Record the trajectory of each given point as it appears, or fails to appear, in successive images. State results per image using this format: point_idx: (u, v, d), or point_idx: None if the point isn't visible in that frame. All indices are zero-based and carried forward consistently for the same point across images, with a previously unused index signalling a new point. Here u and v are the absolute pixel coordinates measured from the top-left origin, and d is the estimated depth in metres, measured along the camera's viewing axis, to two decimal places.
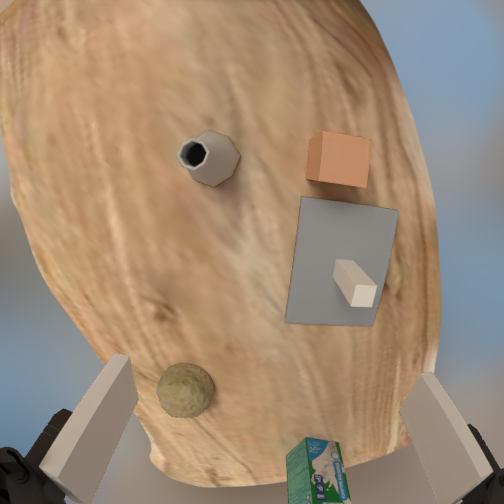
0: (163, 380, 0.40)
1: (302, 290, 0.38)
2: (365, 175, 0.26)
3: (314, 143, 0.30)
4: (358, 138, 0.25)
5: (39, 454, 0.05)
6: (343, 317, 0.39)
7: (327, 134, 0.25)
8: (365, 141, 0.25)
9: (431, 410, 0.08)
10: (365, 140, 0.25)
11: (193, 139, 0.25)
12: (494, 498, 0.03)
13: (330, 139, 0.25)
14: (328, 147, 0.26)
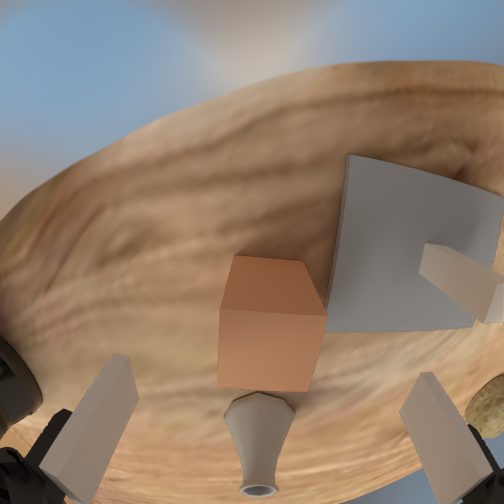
0: None
1: (445, 314, 0.21)
2: (301, 319, 0.13)
3: None
4: (222, 333, 0.13)
5: (39, 454, 0.05)
6: (489, 248, 0.20)
7: (223, 381, 0.14)
8: (226, 320, 0.13)
9: (431, 410, 0.08)
10: (224, 319, 0.13)
11: (241, 491, 0.17)
12: (494, 498, 0.03)
13: (232, 378, 0.14)
14: (247, 381, 0.14)
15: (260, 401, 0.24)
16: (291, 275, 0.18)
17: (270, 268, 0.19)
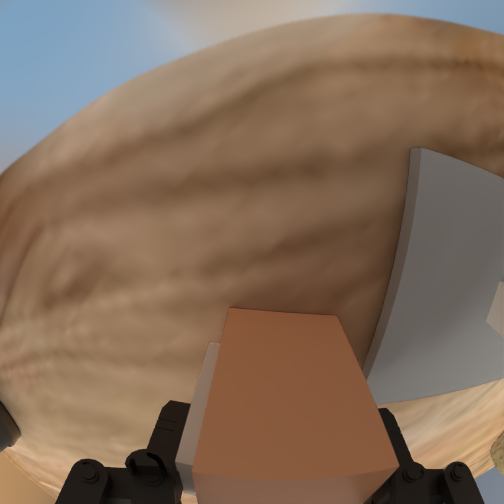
0: (498, 469, 0.15)
1: (500, 363, 0.13)
2: (351, 479, 0.05)
3: None
4: (201, 492, 0.05)
5: (159, 451, 0.07)
6: None
7: None
8: (206, 483, 0.05)
9: None
10: (202, 482, 0.05)
11: None
12: (400, 499, 0.04)
13: None
14: None
15: None
16: (325, 356, 0.10)
17: (288, 340, 0.11)
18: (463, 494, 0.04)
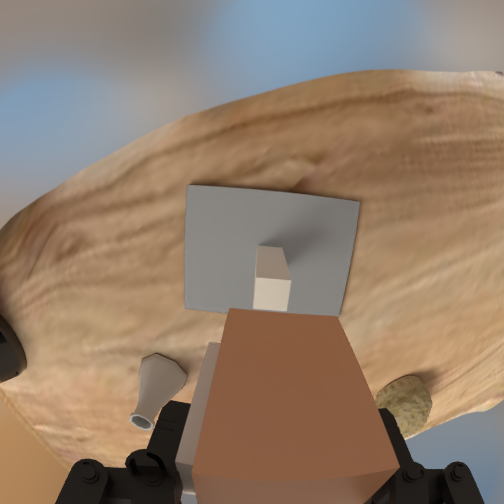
0: None
1: (296, 305, 0.31)
2: (351, 480, 0.05)
3: None
4: (201, 493, 0.05)
5: (159, 451, 0.07)
6: (340, 249, 0.29)
7: None
8: (206, 484, 0.05)
9: None
10: (201, 483, 0.05)
11: (130, 420, 0.26)
12: (400, 499, 0.04)
13: None
14: None
15: (156, 360, 0.34)
16: (325, 356, 0.10)
17: (288, 340, 0.11)
18: (463, 494, 0.04)
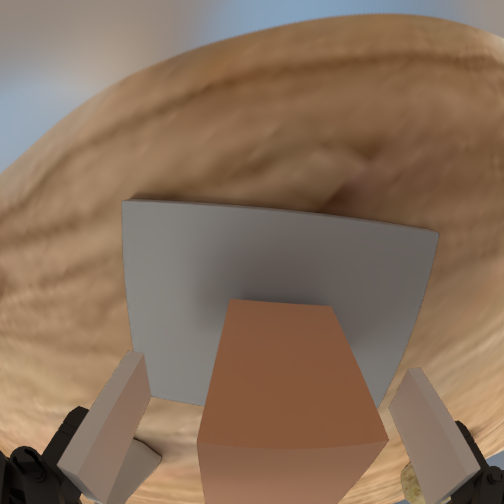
0: (407, 500, 0.19)
1: None
2: (344, 451, 0.06)
3: None
4: (204, 466, 0.06)
5: (55, 453, 0.05)
6: (400, 315, 0.15)
7: (213, 501, 0.07)
8: (209, 455, 0.06)
9: (418, 406, 0.09)
10: (205, 454, 0.06)
11: None
12: (482, 497, 0.03)
13: (226, 500, 0.07)
14: (249, 503, 0.07)
15: None
16: (319, 341, 0.11)
17: (285, 327, 0.12)
18: None
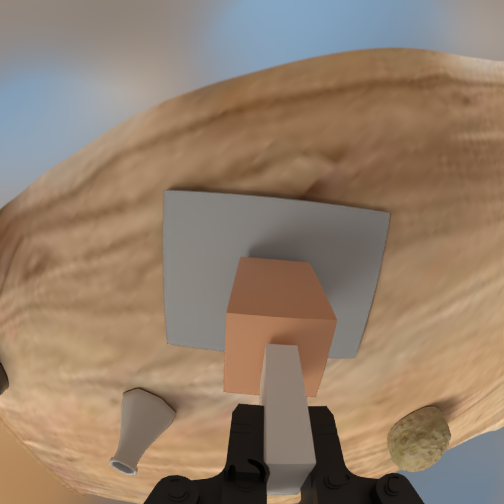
0: None
1: None
2: (310, 324, 0.13)
3: None
4: (228, 338, 0.13)
5: (240, 456, 0.07)
6: (364, 274, 0.22)
7: (229, 387, 0.14)
8: (232, 324, 0.13)
9: None
10: (230, 324, 0.13)
11: (110, 464, 0.19)
12: None
13: (238, 383, 0.14)
14: (254, 386, 0.14)
15: (139, 396, 0.27)
16: (299, 277, 0.18)
17: (277, 270, 0.18)
18: None
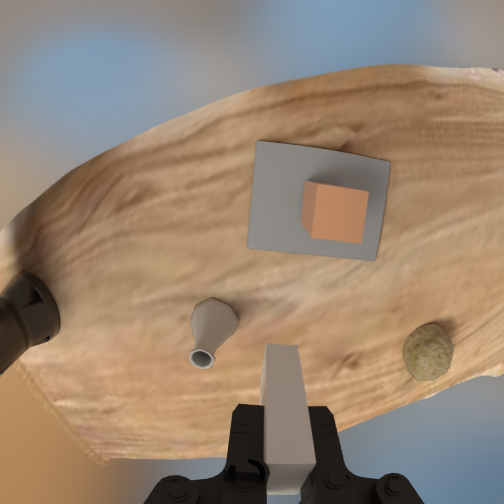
0: (411, 373, 0.38)
1: (342, 245, 0.36)
2: (356, 192, 0.25)
3: None
4: (317, 199, 0.25)
5: (240, 455, 0.07)
6: (376, 198, 0.34)
7: (314, 233, 0.26)
8: (320, 190, 0.25)
9: None
10: (319, 190, 0.25)
11: (190, 358, 0.32)
12: None
13: (320, 230, 0.26)
14: (328, 233, 0.26)
15: (212, 303, 0.39)
16: (342, 186, 0.30)
17: (329, 184, 0.31)
18: None
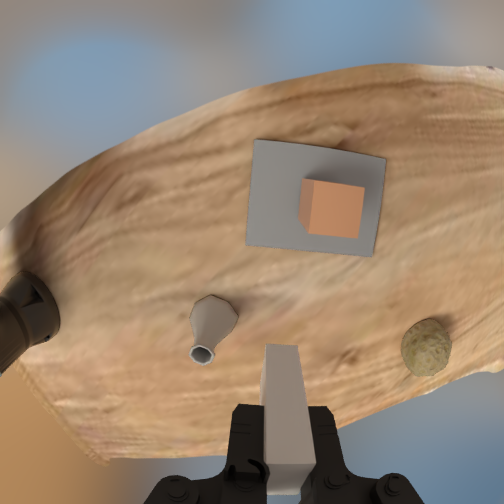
0: (409, 368, 0.39)
1: (339, 241, 0.37)
2: (352, 188, 0.26)
3: None
4: (314, 195, 0.26)
5: (240, 456, 0.07)
6: (373, 195, 0.35)
7: (312, 229, 0.27)
8: (317, 187, 0.26)
9: None
10: (316, 187, 0.26)
11: (190, 354, 0.32)
12: None
13: (317, 226, 0.27)
14: (325, 228, 0.27)
15: (211, 300, 0.40)
16: None
17: (326, 181, 0.31)
18: None
